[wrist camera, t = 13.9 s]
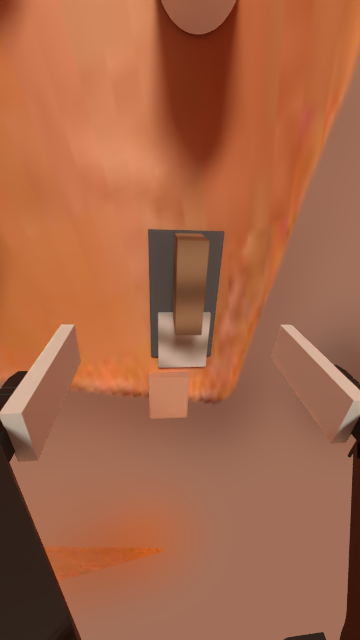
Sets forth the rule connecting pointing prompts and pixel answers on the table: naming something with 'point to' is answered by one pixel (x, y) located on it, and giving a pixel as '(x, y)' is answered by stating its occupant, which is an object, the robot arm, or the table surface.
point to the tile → (168, 394)
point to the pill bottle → (198, 14)
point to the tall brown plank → (186, 306)
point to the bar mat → (164, 277)
